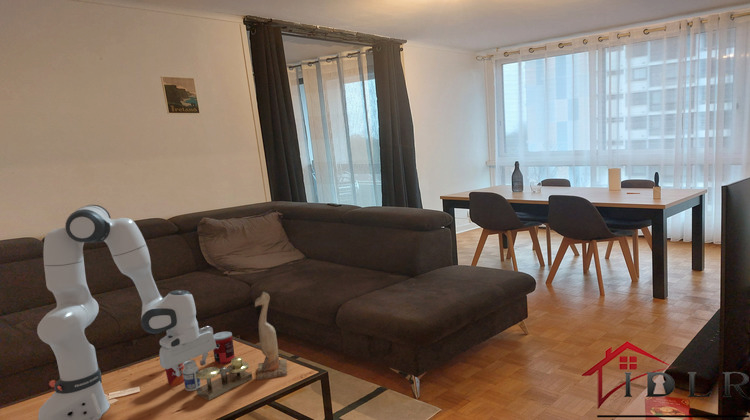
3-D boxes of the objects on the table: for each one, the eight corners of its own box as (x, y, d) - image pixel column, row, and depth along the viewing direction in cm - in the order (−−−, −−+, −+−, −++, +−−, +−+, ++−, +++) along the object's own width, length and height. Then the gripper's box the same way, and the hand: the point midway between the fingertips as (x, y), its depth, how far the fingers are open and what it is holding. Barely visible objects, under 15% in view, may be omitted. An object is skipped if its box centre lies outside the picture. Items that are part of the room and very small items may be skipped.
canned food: (214, 358, 202) (211, 333, 200) (234, 354, 204) (231, 329, 203) (214, 366, 195) (211, 340, 193) (235, 362, 197) (231, 336, 195)
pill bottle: (195, 382, 182) (191, 358, 180) (203, 385, 179) (200, 360, 177) (182, 389, 177) (178, 364, 176) (191, 392, 174) (187, 367, 173)
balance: (206, 401, 167) (203, 379, 166) (194, 395, 172) (191, 374, 171) (254, 377, 182) (252, 357, 181) (241, 372, 187) (239, 352, 186)
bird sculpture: (256, 369, 190) (244, 290, 185) (287, 362, 193) (275, 285, 188) (257, 382, 179) (244, 299, 174) (289, 374, 182) (277, 293, 177)
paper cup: (179, 387, 179) (174, 351, 177) (161, 386, 181) (155, 351, 179) (191, 377, 187) (186, 342, 185) (173, 376, 188) (168, 342, 186)
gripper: (207, 322, 185) (212, 357, 187) (154, 342, 170) (160, 379, 172) (216, 325, 181) (221, 360, 183) (163, 346, 166) (169, 384, 167)
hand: (191, 370), depth 177 cm, fingers open, 8 cm apart
